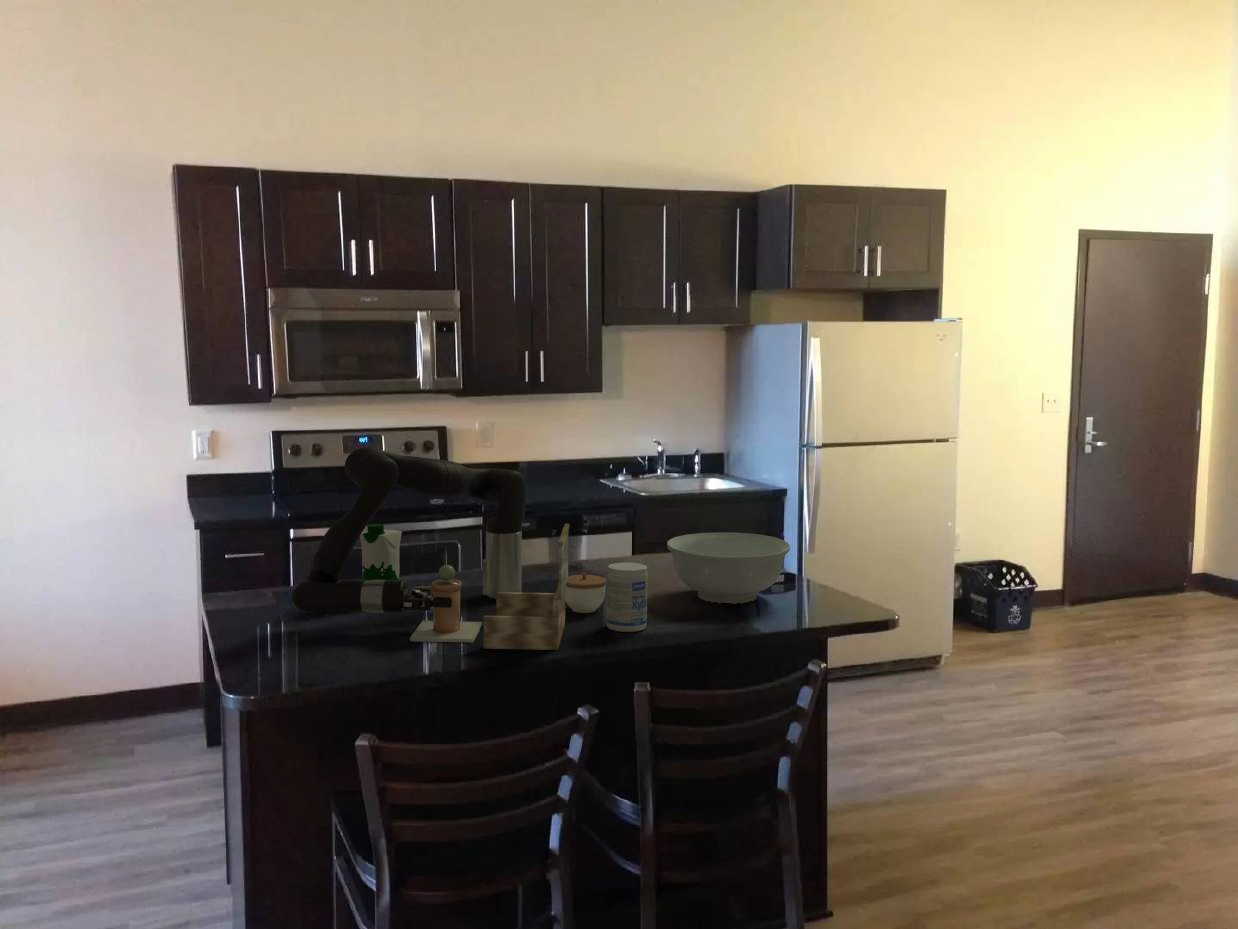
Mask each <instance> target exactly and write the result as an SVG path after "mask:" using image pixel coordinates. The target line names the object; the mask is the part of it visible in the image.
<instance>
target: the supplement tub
mask: <svg viewBox="0 0 1238 929" xmlns="http://www.w3.org/2000/svg"><path fill="white" fill-rule="evenodd" d="M606 573H607V574H606V618H605V619H606V622H605V623H606V627H607V628H608V629H610V630H612V631H615V632H619V633H620V632H621V633H623V632H624V633H635V632H640V631H643V630H644V629H646V627H647V622H648V615H647V614H648V579H649V578H648V577H649V576H648V566H647V565H645V564H642V563H638V562H615V563H611V564H609V565H607V572H606Z"/></svg>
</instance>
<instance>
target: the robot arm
mask: <svg viewBox="0 0 1238 929" xmlns="http://www.w3.org/2000/svg"><path fill="white" fill-rule="evenodd" d="M344 470H345V473H346V476H347V477H348V478H349V479H350V481H351V482H352V483H353V484H355V485H356V486H358V487H359V488H361V489H360V492H359V494H358V497H357V499H356V501H355V503H354V504H353V505H352V507H350V509H349V511H347V512H346V513H345V514H344V515H343V516H342V517H340V518H339V519H338V520H337V521H336V522H334V523H333V524H332V525H331V526H330V527H329V528H328V529H327V531H326V532H325V534H324V535H323V537H322V539H321V542H320V543H319V544H318V545H319V546H318V547H317V549H316V551H315V553H314V556H313V558H312V568H311V570H310V572H309V574H308V577H307V578H306V580H305V581H302V582H301V583H299V584H298V585H297V586H296V587H295V588H294V590H293V591H292V598H291V599H292V602H293V604H294V606H295V607H296V608H297V609H298V610H300V611H301V612H306V613H327V612H328V613H329V612H338V611H339V612H340V611H346V612H365V613H374V614H403V613H405V611H427V612H429V611H430V610H433V608H435V607H444V608H450V607H451V606H452V598H451V597H433V589H432V584H419V583H418V584H415V585H414V587H413V588H408V583H407V582H406V580H403V579H399V580H366V581H362V580H356V579H355V580H353V579H350V580H342V581H339V579H340V574H341V572H342V570H343V568H344V567H345V565H346V563H347V562H348V560H349V557H350V555H351V553H352V551H353V549H354V547H355V545H356V544H357V541H358V540H359V539H360V535H361V533H362V532H364V531H365V529H366V528H367V526H368V525H369V524H370V521H371V520H372V518H373V517H374V516H375V515H376V513H377V512H378V510H379V509H380V507H381V506H382V504H383V503H384V502H385V501H386V499H387V497H388V496H389V494H391V492H392V490H393V489H394V487H395V486H397V487H400V488H403V489H405V490H408V491H411V492H414V493H416V494H419V495H421V496H426V497H430V498H438V499H439V498H440V499H457V498H462V497H463V498H464V497H468V498H471V499H477V500H479V501H484V502H487V503H491V504H492V505H493V504H495V505H498V508H497V509H498V511H497V514H496V515H495V516H494V517H490V518H488V519H487V520H486V521H485V522H486V523H485V535H486V536H485V547H486V548H485V558H484V559H483V560H482V595H483V596H485V595H487V596H488V597H487V596H486V597H487V598H489V597H490V598H489V599H492V598H494V599H493V600H497V592H516V593H522V586H523V585H522V581H523V580H522V577H523V576H522V569H523V568H522V565H523V564H522V562H523V561H522V557H523V556H522V552H523V549H522V546H523V544H522V543H523V542H522V539H523V537H522V532H523V531H522V530H523V528H522V527H523V523H524V520H525V516H526V515H525V514H526V501H527V486H526V485H527V484H526V479H525V478H524V475H523V474H522V473H521V472H519V471H518V470H515V469H513V470H512V469H505V468H496V467H495V468H473V467H467V466H464V465H463V464H461V463H458V462H456V461H455V462H454V461H452V460H446V459H438V458H428V457H420V456H413V455H401V454H396V453H394V452H393V453H392V452H388V451H385V450H381V449H379V448H375V447H371V446H364V447H363V446H362V447H358V448H356V449H355V450H353V451H351V453H349V454H348V456H347V457H346V459H345V461H344Z"/></svg>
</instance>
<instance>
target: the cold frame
mask: <svg viewBox="0 0 1238 929" xmlns="http://www.w3.org/2000/svg"><path fill="white" fill-rule="evenodd" d="M569 530H570V523H565V524H564V526H563V528H562V530H561V534H560V536H559V539H558V541H557V547H558V550H559V551H558V584H557V587H556V590H555V592H521V593H516V592H497V599H496V615H483V649H489V650H490V649H493V650H495V649H496V650H498V649H499V650H501V649H503V650H537V651H538V650H541V651H542V650H545V651H546V650H547V651H549V650H550V651H554V650H555V651H559V648H560V645H561V644H560V643H561V640H562V637H563V632H564V629H565V625H566V624H565V623H566V600H565V586H566V583H567V579H568V576H569Z"/></svg>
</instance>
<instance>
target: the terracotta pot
mask: <svg viewBox="0 0 1238 929" xmlns="http://www.w3.org/2000/svg"><path fill="white" fill-rule="evenodd" d="M438 575H439V578H440V579H436V580H435V579H434V580H433V581H431V585H432V589H433V597H451V598H452V606H451V607H450V608H444V607H435V608H433V609H432V610H433V611H432V613H433V614H432V616H433V618H432V621H433V630H434V631H435V632H438V633H454V632H457V631H459V630H460V622H461V589H462V585H463V583H462V580H459V579H455V575H456V571H455V568H454V567H453V566H452V565H451V564H450V565H449V564H445V565H442V566H441V567H440V568H439V571H438Z"/></svg>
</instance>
